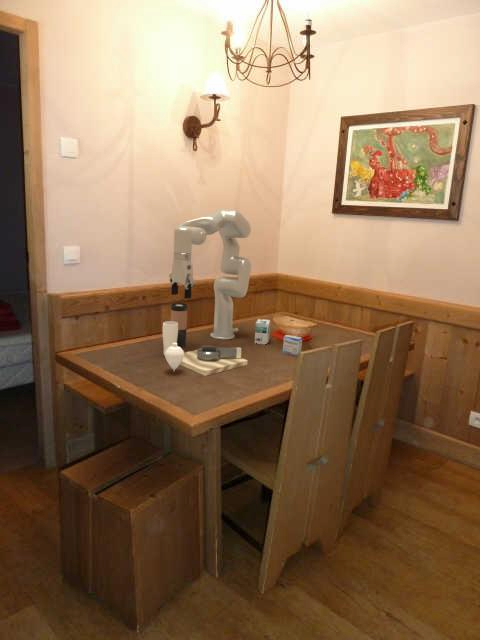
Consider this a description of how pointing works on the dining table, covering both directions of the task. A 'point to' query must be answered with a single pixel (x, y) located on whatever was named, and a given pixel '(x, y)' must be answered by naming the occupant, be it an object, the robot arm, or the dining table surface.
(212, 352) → the silver piece
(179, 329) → the travel mug
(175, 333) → the drinking glass
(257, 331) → the light bulb box
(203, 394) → the dining table surface
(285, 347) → the medicine box
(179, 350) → the spinning top
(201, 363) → the board
